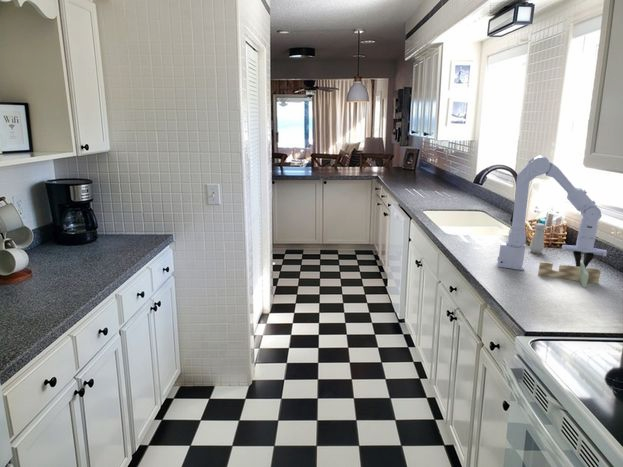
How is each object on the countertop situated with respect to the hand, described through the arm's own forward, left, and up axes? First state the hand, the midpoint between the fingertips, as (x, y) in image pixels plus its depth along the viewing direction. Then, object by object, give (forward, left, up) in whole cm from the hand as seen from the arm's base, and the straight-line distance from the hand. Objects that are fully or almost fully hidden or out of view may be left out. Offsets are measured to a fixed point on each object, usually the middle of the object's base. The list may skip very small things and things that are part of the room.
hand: (579, 271), depth 180 cm
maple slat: (-5, -6, -2) cm, 7 cm away
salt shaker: (-14, +28, -2) cm, 32 cm away
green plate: (0, -5, -2) cm, 6 cm away
